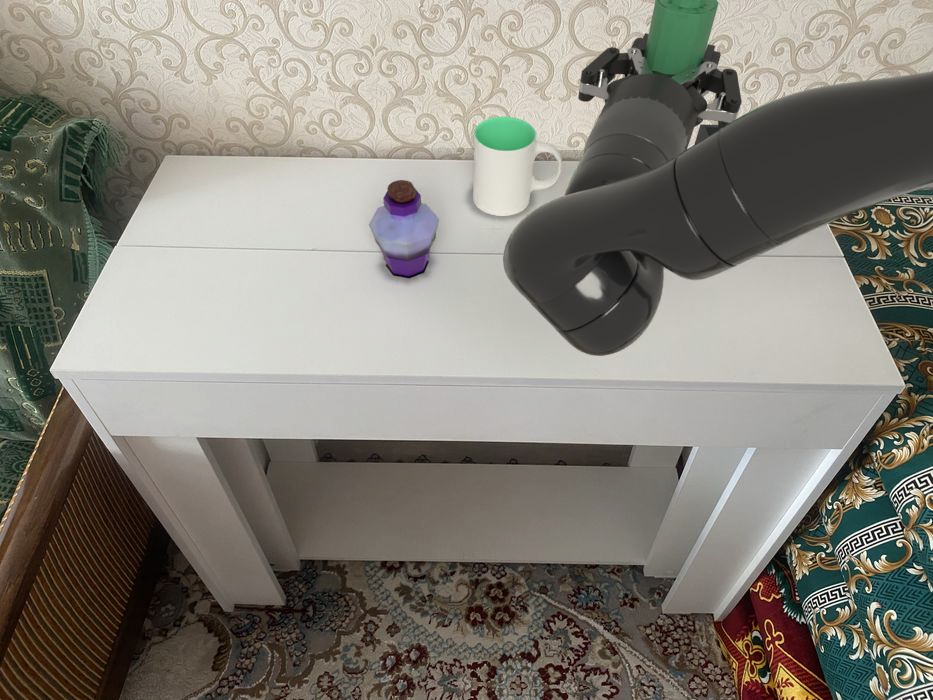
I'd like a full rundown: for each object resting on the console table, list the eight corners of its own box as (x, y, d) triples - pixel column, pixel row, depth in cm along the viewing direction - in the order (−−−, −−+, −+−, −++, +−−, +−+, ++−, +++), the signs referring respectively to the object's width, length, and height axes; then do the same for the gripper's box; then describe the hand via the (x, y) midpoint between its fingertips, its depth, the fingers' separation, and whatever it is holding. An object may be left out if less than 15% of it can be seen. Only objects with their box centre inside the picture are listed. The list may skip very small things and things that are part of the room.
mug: (554, 180, 100) (562, 116, 92) (560, 215, 95) (569, 150, 87) (472, 181, 100) (473, 116, 92) (473, 216, 95) (475, 151, 87)
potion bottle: (454, 259, 89) (453, 182, 80) (411, 296, 85) (405, 220, 76) (403, 233, 92) (397, 156, 83) (360, 267, 88) (348, 190, 79)
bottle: (673, 168, 73) (739, -71, 56) (665, 196, 70) (732, -48, 53) (625, 158, 75) (675, -79, 57) (615, 185, 71) (664, -57, 54)
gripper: (745, 120, 50) (770, 21, 60) (555, 82, 53) (609, -5, 63) (716, 203, 55) (743, 100, 66) (546, 164, 59) (597, 72, 69)
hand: (677, 49), depth 64 cm, fingers closed on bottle, 5 cm apart
